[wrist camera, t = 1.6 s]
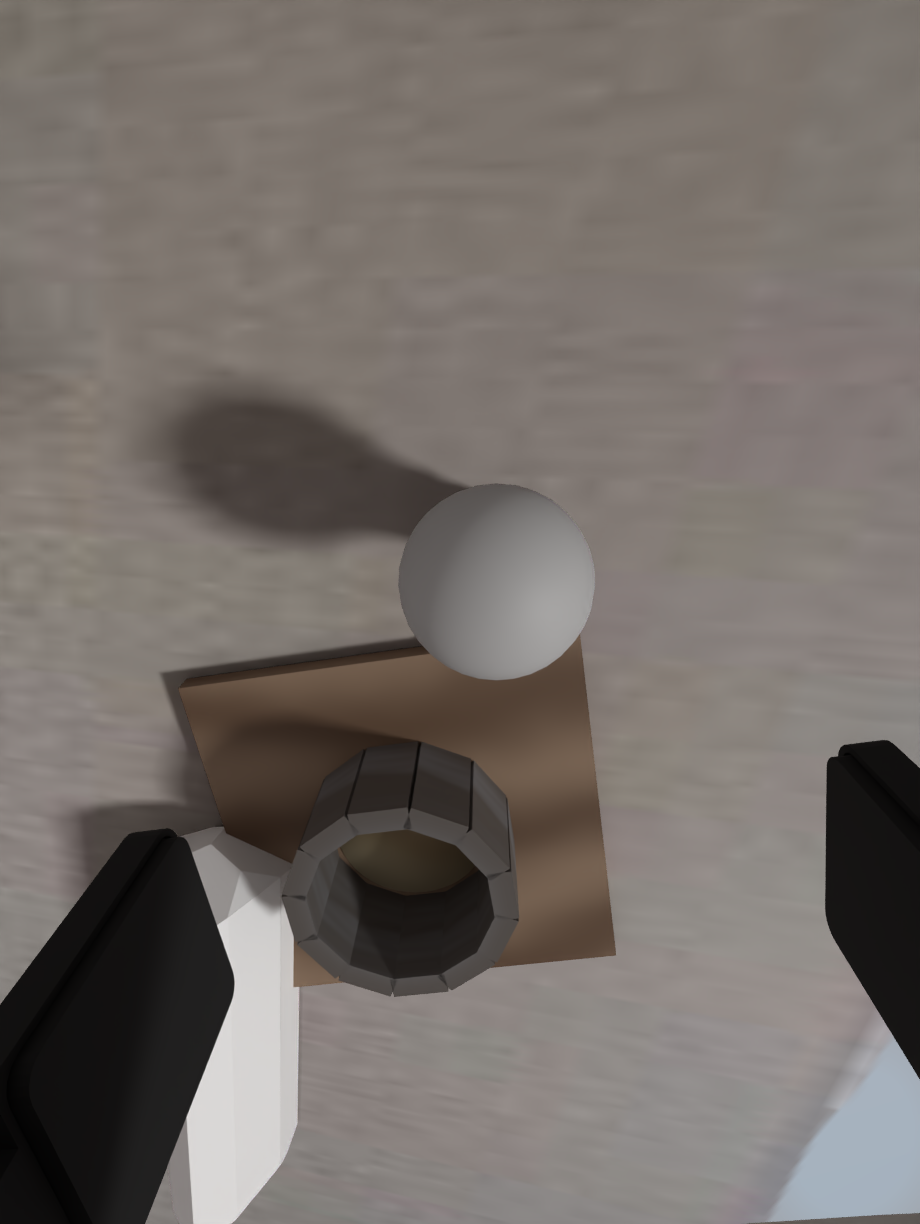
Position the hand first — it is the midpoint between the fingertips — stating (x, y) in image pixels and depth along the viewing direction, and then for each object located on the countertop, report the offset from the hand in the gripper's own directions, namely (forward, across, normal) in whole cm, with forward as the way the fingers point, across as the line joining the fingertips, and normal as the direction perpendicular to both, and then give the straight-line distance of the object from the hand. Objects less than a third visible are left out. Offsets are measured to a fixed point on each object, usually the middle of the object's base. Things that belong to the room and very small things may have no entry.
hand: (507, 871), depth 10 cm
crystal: (+22, +18, +24) cm, 37 cm away
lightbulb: (+21, 0, 0) cm, 21 cm away
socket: (+21, +6, +14) cm, 26 cm away
